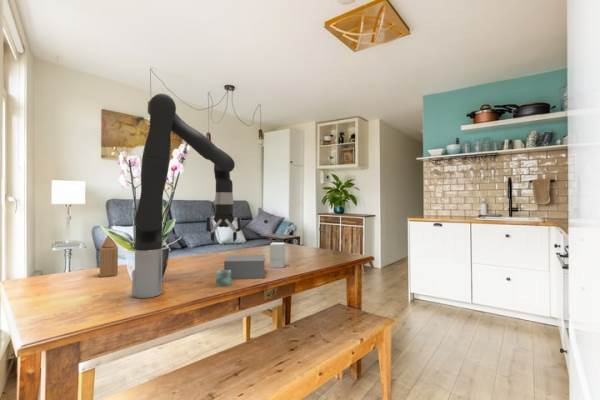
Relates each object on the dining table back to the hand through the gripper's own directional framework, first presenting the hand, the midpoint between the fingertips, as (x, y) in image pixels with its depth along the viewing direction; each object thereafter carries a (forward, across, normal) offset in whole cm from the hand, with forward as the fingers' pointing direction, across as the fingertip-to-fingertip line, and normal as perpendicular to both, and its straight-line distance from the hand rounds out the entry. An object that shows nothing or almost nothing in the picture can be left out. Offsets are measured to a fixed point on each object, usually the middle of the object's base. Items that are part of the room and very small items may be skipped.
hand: (223, 241), depth 127 cm
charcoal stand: (+18, +8, +16) cm, 25 cm away
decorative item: (+18, -56, +20) cm, 62 cm away
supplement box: (+18, +24, +32) cm, 44 cm away
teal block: (+18, 0, 0) cm, 18 cm away
